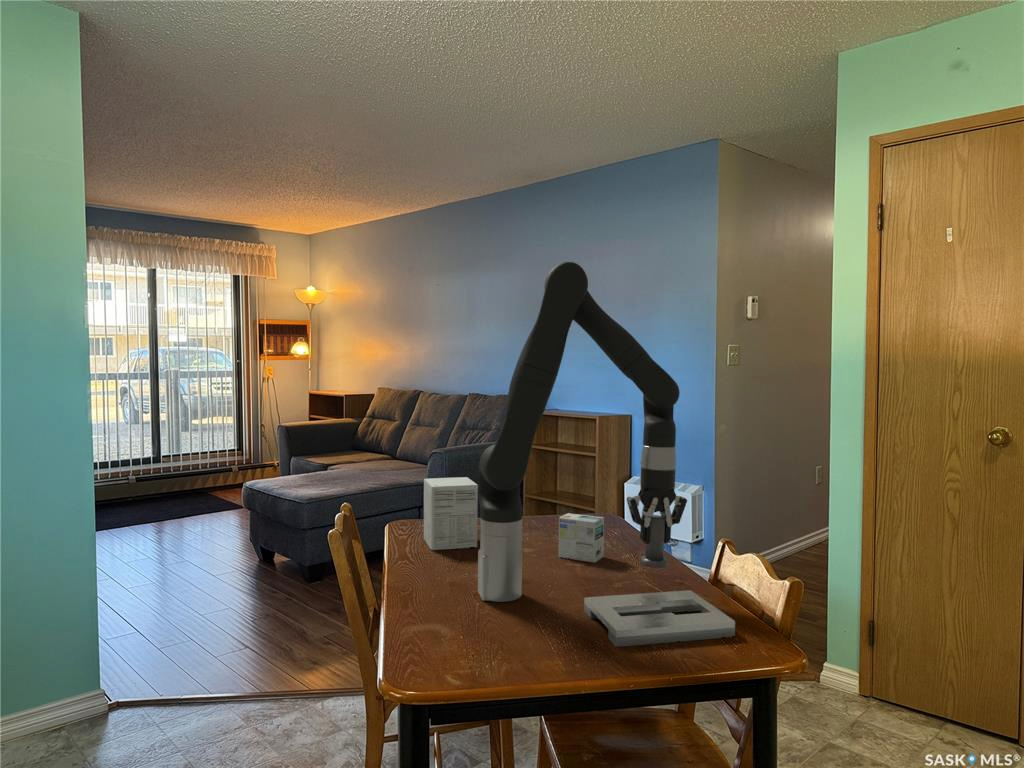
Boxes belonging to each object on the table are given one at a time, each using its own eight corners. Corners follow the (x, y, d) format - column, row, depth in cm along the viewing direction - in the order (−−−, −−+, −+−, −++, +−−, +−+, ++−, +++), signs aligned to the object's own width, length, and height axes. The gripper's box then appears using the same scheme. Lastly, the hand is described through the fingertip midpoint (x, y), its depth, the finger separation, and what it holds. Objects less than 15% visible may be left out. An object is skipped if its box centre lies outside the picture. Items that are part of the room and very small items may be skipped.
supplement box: (478, 547, 194) (478, 484, 193) (430, 551, 190) (431, 486, 189) (467, 535, 206) (468, 476, 206) (422, 538, 203) (423, 478, 202)
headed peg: (647, 568, 153) (649, 520, 153) (636, 560, 159) (638, 514, 159) (672, 567, 155) (674, 519, 154) (661, 559, 160) (662, 513, 160)
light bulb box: (604, 557, 186) (605, 516, 186) (595, 563, 180) (596, 521, 180) (567, 551, 191) (567, 512, 191) (557, 557, 185) (557, 517, 185)
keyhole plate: (616, 646, 129) (616, 630, 129) (584, 611, 146) (584, 597, 146) (734, 636, 134) (735, 621, 134) (690, 603, 152) (690, 590, 152)
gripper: (634, 468, 151) (631, 548, 151) (695, 468, 154) (692, 546, 155) (621, 463, 158) (618, 539, 159) (680, 463, 161) (677, 537, 162)
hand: (655, 542), depth 157 cm, fingers closed on headed peg, 4 cm apart
